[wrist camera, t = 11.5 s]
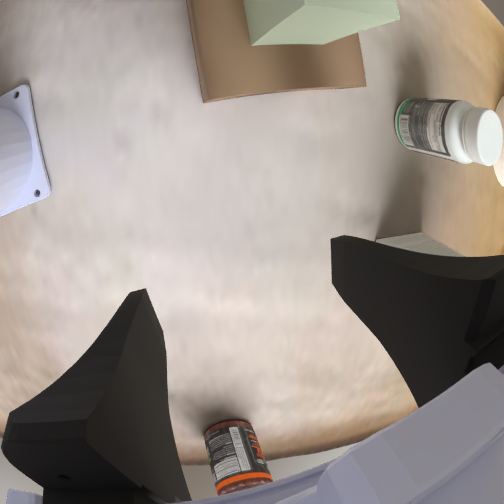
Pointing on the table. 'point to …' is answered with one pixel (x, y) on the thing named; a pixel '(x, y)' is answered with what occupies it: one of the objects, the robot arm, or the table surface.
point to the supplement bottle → (235, 457)
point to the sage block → (314, 19)
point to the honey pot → (503, 163)
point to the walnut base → (264, 57)
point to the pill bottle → (450, 130)
